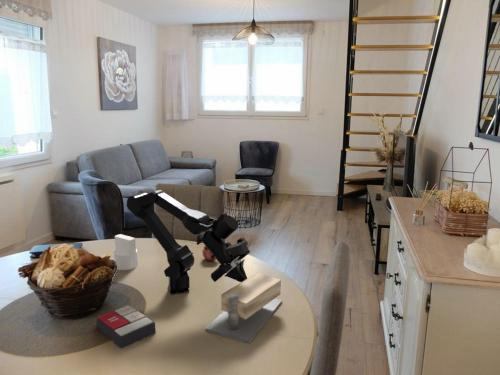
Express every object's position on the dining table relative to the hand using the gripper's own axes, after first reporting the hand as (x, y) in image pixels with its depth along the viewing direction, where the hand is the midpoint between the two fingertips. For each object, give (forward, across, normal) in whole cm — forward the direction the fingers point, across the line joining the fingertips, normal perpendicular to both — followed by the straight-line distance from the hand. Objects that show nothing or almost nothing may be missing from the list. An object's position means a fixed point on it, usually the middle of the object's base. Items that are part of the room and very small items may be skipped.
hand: (247, 284), depth 133 cm
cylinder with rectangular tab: (-35, +8, +46) cm, 58 cm away
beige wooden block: (+7, -6, +2) cm, 10 cm away
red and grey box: (-13, -28, +24) cm, 39 cm away
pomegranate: (-15, +29, +27) cm, 42 cm away
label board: (+7, -6, +4) cm, 10 cm away
